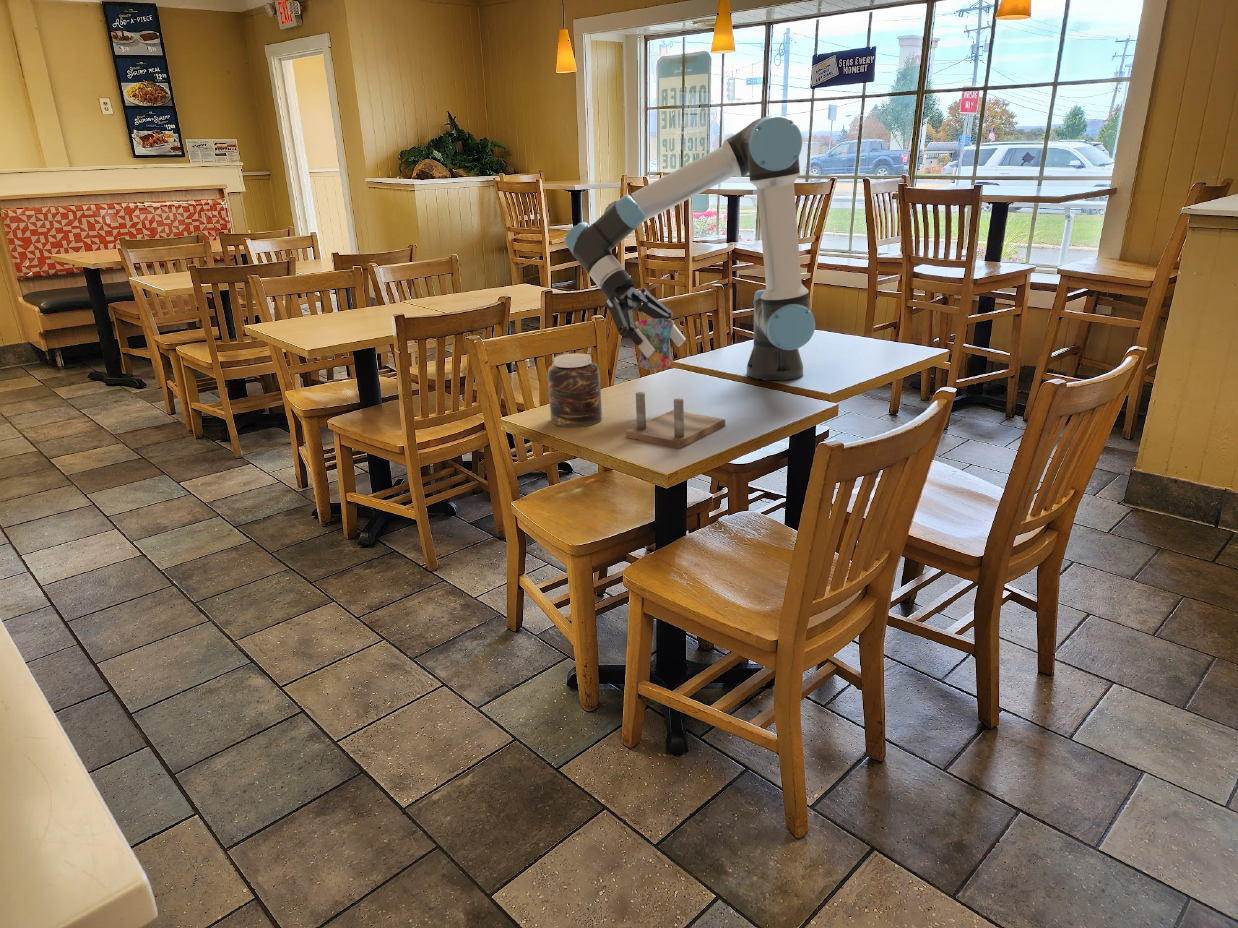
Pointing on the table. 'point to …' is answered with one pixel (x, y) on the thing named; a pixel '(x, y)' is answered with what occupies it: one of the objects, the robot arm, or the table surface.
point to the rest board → (672, 425)
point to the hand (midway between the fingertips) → (667, 348)
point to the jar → (574, 391)
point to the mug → (656, 342)
